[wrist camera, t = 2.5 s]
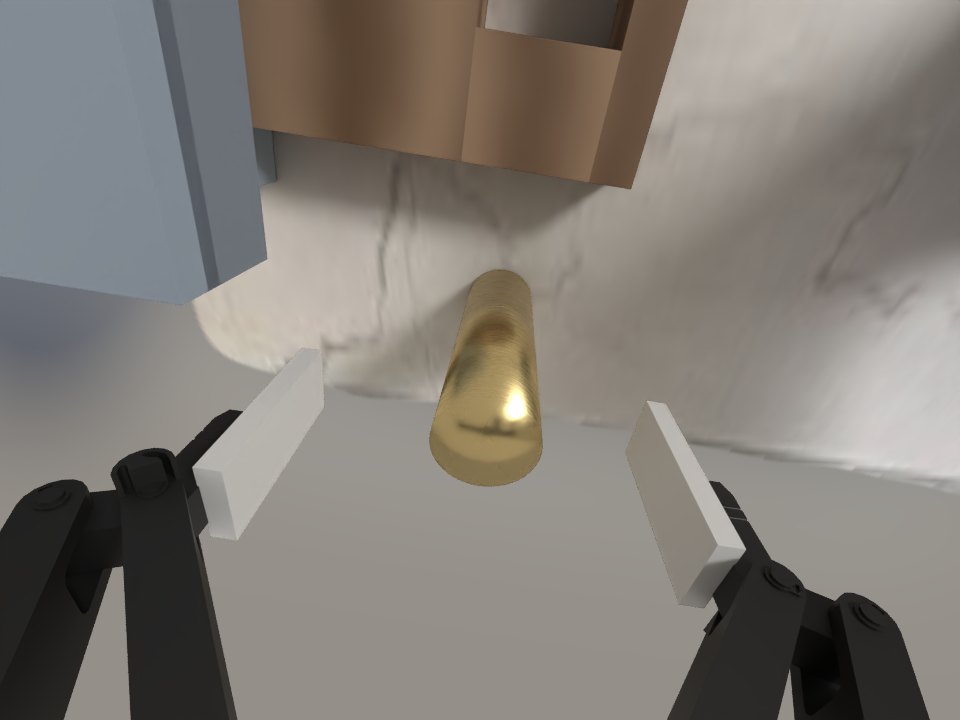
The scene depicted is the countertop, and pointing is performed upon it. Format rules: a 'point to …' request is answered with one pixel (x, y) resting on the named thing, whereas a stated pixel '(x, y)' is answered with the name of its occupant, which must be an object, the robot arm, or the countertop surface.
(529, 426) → the peg
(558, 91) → the socket block
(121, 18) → the blue-grey hooked bracket
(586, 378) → the countertop surface
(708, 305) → the countertop surface
